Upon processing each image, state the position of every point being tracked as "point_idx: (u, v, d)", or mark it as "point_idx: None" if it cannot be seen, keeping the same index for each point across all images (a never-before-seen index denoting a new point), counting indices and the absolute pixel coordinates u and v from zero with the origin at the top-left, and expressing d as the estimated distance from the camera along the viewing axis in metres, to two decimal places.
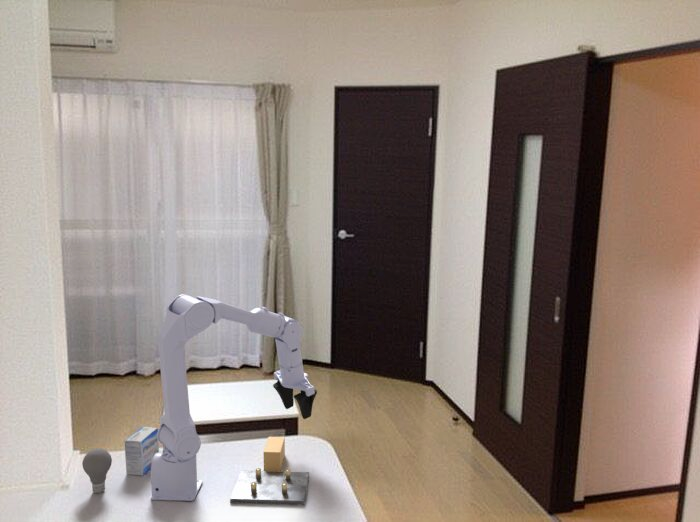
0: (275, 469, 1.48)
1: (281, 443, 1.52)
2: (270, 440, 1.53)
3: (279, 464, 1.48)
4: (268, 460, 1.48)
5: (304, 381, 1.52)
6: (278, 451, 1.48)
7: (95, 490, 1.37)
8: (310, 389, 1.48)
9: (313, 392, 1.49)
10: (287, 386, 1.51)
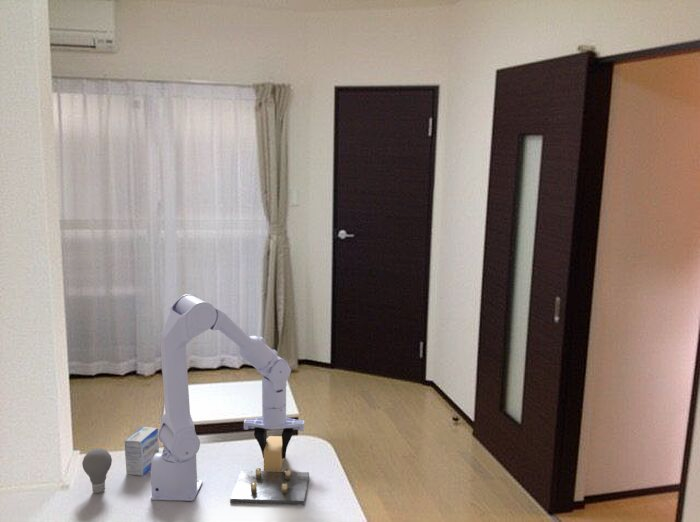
0: (275, 468, 1.48)
1: (281, 442, 1.52)
2: (270, 440, 1.53)
3: (279, 463, 1.48)
4: (268, 460, 1.48)
5: (286, 420, 1.51)
6: (278, 450, 1.48)
7: (95, 490, 1.37)
8: (304, 423, 1.50)
9: (304, 426, 1.51)
10: (278, 427, 1.47)
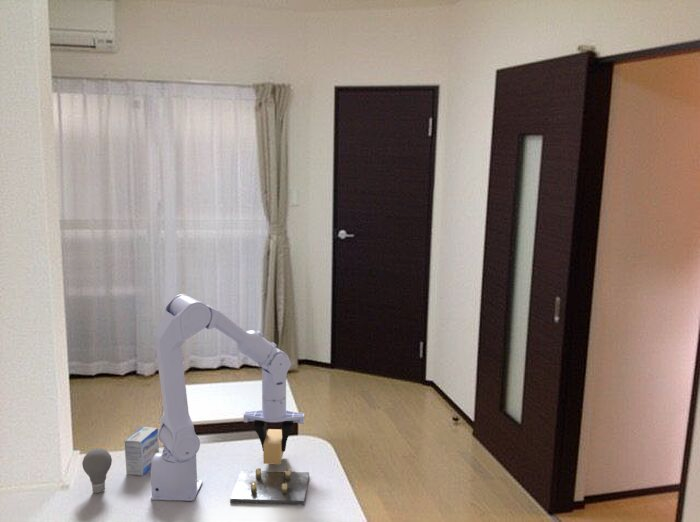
0: (275, 461, 1.48)
1: (281, 435, 1.51)
2: (270, 433, 1.53)
3: (279, 456, 1.47)
4: (268, 453, 1.47)
5: (286, 413, 1.51)
6: (278, 443, 1.47)
7: (95, 490, 1.37)
8: (304, 416, 1.50)
9: (304, 419, 1.51)
10: (278, 420, 1.47)
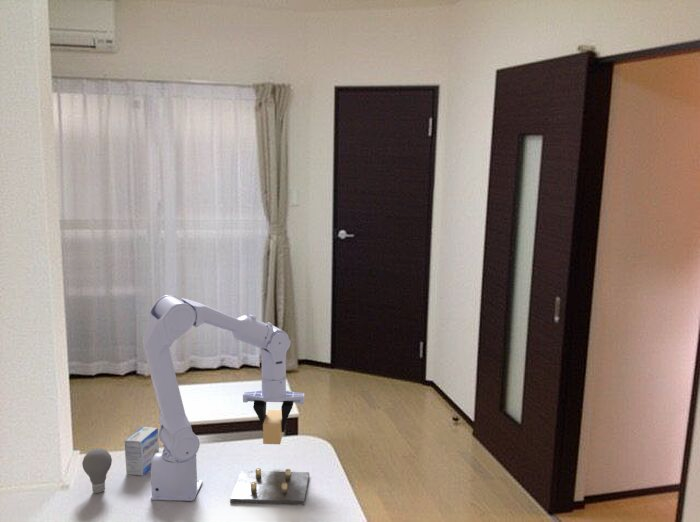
0: (275, 441, 1.46)
1: (281, 416, 1.50)
2: (269, 413, 1.51)
3: (279, 436, 1.46)
4: (267, 433, 1.46)
5: (286, 393, 1.49)
6: (278, 423, 1.46)
7: (95, 490, 1.37)
8: (304, 396, 1.48)
9: (304, 399, 1.49)
10: (278, 400, 1.45)
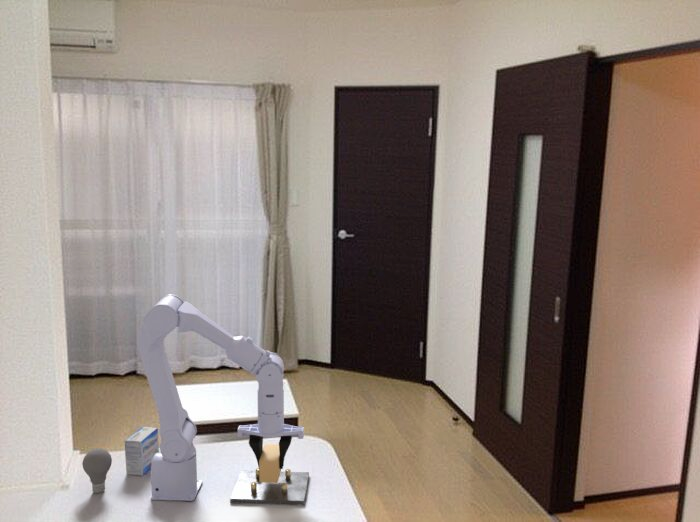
0: (272, 480, 1.36)
1: (278, 451, 1.39)
2: (266, 448, 1.41)
3: (276, 474, 1.35)
4: (264, 470, 1.35)
5: (284, 426, 1.39)
6: (275, 460, 1.35)
7: (95, 490, 1.37)
8: (303, 430, 1.37)
9: (303, 433, 1.38)
10: (275, 435, 1.35)
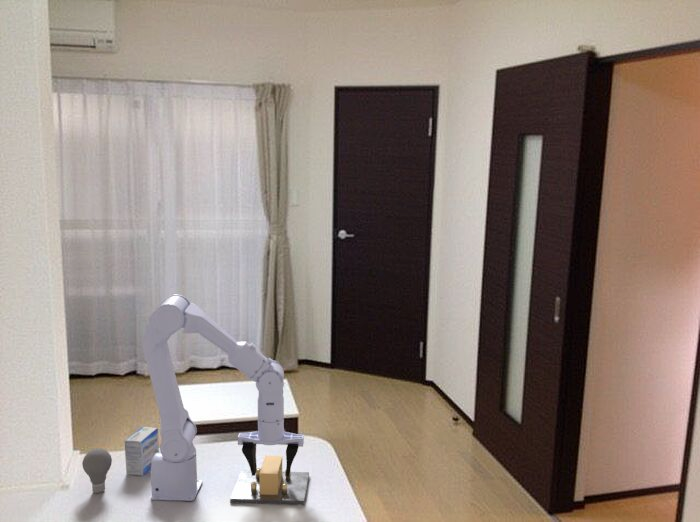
0: (272, 492, 1.36)
1: (278, 463, 1.40)
2: (266, 460, 1.41)
3: (276, 486, 1.36)
4: (264, 483, 1.36)
5: (284, 434, 1.39)
6: (275, 472, 1.36)
7: (95, 490, 1.37)
8: (303, 438, 1.38)
9: (303, 441, 1.39)
10: (275, 443, 1.35)
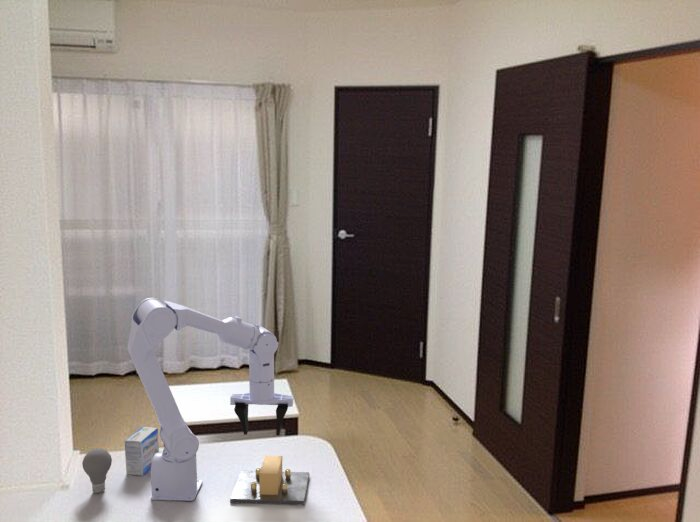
0: (272, 492, 1.36)
1: (278, 463, 1.40)
2: (266, 460, 1.41)
3: (276, 486, 1.36)
4: (264, 483, 1.36)
5: (274, 395, 1.47)
6: (275, 472, 1.36)
7: (95, 490, 1.37)
8: (292, 399, 1.45)
9: None
10: (265, 402, 1.43)
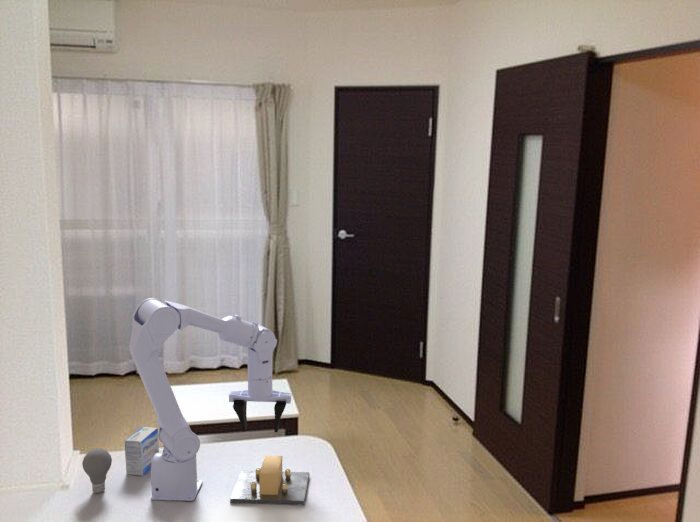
0: (272, 492, 1.36)
1: (278, 463, 1.40)
2: (266, 460, 1.41)
3: (276, 486, 1.36)
4: (264, 483, 1.36)
5: (272, 392, 1.48)
6: (275, 472, 1.36)
7: (95, 490, 1.37)
8: (290, 396, 1.47)
9: None
10: (264, 399, 1.44)
